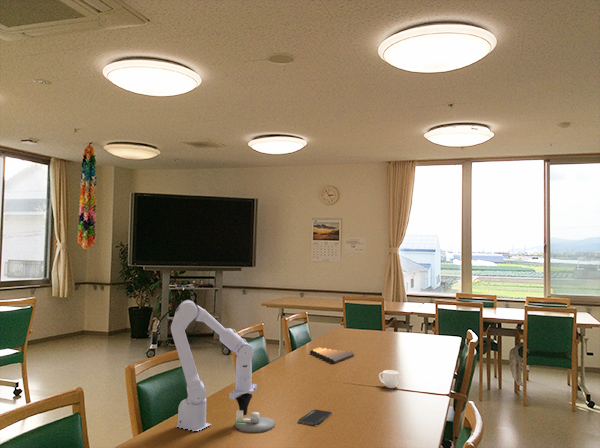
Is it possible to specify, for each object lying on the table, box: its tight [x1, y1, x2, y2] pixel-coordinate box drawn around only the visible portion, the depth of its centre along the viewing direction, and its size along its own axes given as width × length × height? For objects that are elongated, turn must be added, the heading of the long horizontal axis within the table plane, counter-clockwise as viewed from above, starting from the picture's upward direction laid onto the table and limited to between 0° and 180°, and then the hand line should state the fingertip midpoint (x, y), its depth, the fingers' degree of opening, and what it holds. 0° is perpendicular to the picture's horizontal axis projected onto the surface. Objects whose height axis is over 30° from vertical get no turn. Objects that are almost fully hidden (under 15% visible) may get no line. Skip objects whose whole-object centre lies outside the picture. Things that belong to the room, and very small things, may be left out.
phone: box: [297, 409, 333, 426], centre depth 187 cm, size 8×1×15 cm
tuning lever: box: [236, 409, 260, 423], centre depth 179 cm, size 8×3×4 cm, turn 84°
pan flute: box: [309, 346, 355, 365], centre depth 294 cm, size 25×3×25 cm
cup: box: [378, 369, 401, 389], centre depth 233 cm, size 8×10×7 cm
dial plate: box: [234, 415, 276, 433], centre depth 178 cm, size 14×14×1 cm
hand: (243, 414), depth 181 cm, fingers closed
